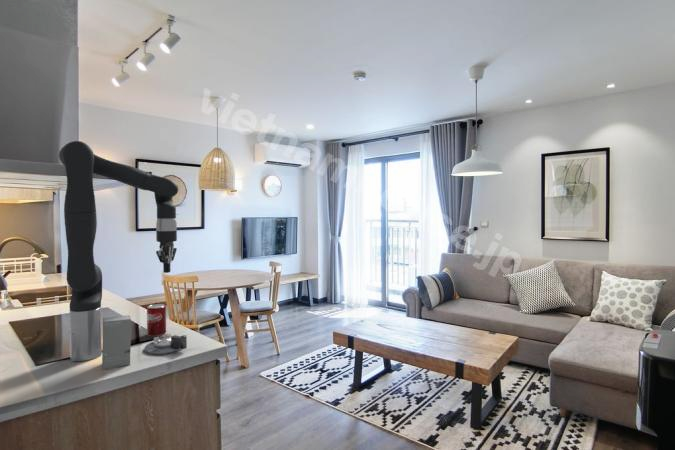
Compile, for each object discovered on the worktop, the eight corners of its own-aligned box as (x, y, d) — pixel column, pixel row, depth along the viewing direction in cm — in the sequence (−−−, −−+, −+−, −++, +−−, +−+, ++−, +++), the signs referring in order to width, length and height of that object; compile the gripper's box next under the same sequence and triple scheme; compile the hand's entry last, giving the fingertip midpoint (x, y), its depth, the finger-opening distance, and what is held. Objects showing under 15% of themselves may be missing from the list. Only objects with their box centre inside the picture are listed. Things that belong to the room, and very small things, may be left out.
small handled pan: (149, 346, 141) (148, 333, 141) (167, 339, 148) (167, 328, 148) (174, 353, 134) (174, 340, 134) (192, 346, 141) (192, 334, 141)
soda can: (158, 337, 154) (158, 308, 154) (143, 336, 156) (142, 307, 155) (169, 332, 161) (169, 304, 161) (155, 330, 163) (154, 303, 162)
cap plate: (150, 358, 133) (150, 354, 133) (140, 347, 143) (140, 343, 143) (190, 349, 142) (190, 345, 142) (178, 339, 153) (178, 336, 152)
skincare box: (102, 370, 123) (101, 322, 122) (102, 362, 129) (101, 317, 128) (131, 365, 127) (131, 318, 126) (130, 357, 133) (129, 313, 132)
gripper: (168, 230, 145) (168, 275, 146) (182, 229, 158) (183, 270, 159) (148, 230, 145) (149, 275, 146) (165, 228, 159) (165, 269, 159)
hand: (167, 272), depth 153 cm, fingers closed
